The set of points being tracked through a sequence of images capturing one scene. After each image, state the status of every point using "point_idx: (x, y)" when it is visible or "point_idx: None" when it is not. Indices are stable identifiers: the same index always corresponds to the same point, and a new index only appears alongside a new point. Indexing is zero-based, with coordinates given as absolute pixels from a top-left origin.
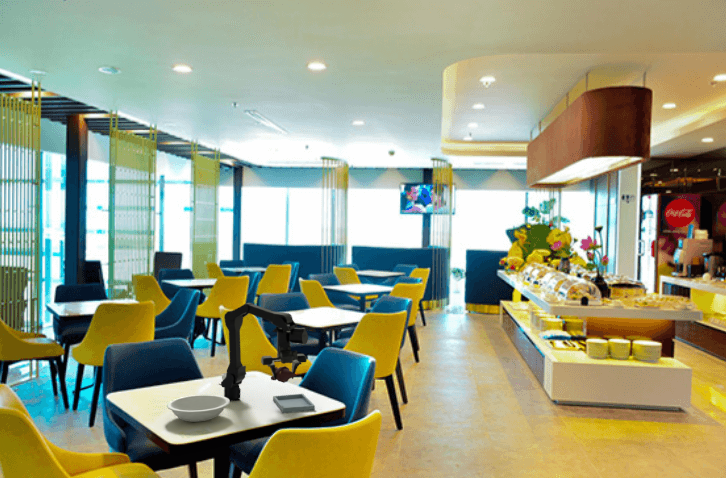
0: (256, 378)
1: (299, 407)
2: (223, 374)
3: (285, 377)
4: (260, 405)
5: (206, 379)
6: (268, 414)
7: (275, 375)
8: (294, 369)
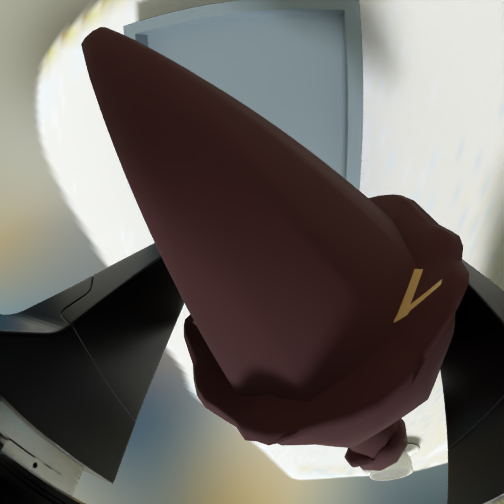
0: (306, 460)
1: (226, 3)
2: (401, 475)
3: (318, 159)
4: (440, 223)
5: (419, 467)
6: (447, 25)
7: (470, 279)
8: (85, 298)
